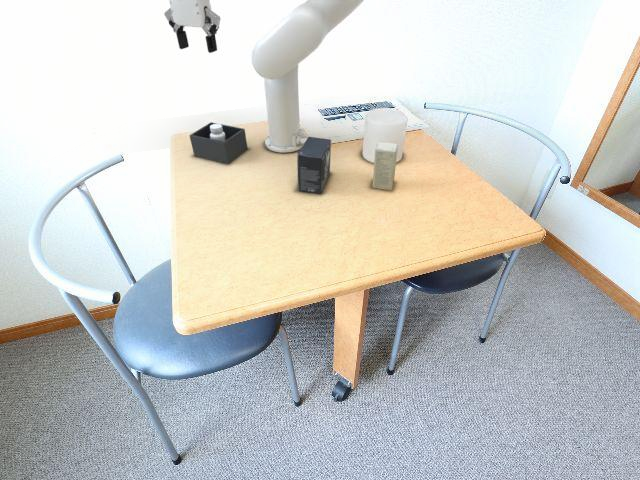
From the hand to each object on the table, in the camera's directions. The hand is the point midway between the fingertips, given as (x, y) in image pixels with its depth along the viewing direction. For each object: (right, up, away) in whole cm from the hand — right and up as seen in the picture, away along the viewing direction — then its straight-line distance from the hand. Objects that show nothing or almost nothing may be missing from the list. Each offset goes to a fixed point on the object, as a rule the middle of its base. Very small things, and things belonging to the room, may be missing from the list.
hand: (198, 49), depth 101 cm
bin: (+4, -26, +10) cm, 28 cm away
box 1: (+32, -37, -3) cm, 49 cm away
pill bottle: (+3, -26, +10) cm, 28 cm away
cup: (+52, -27, +8) cm, 59 cm away
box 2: (+50, -38, -4) cm, 63 cm away
